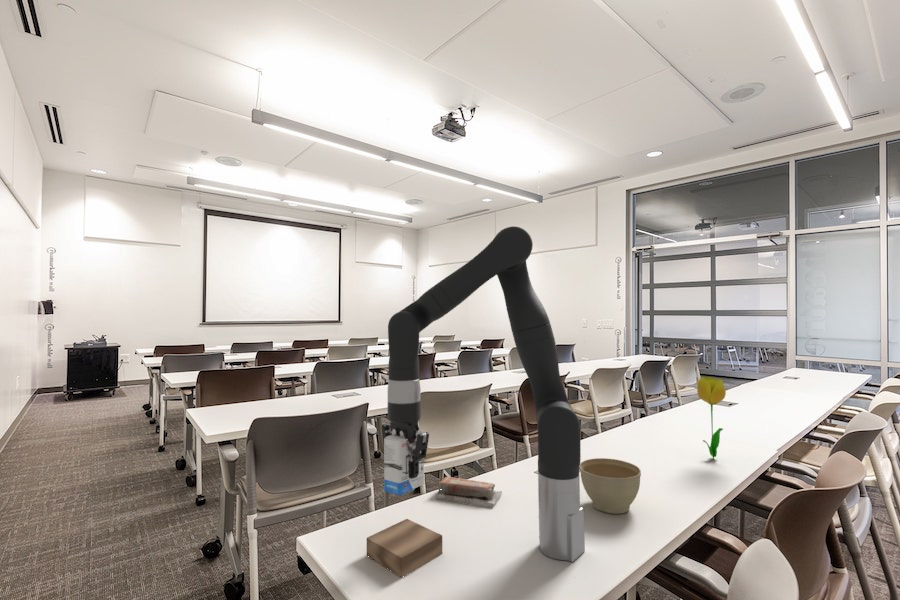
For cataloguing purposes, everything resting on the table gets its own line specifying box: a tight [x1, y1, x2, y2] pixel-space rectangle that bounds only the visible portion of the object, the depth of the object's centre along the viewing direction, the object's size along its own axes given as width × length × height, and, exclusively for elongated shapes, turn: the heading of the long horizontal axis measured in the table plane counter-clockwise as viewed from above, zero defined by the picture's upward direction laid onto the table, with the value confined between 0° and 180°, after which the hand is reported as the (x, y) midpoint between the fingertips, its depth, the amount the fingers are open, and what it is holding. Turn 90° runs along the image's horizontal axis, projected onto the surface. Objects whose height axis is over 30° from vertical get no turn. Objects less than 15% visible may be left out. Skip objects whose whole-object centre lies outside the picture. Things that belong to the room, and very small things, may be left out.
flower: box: [696, 376, 727, 460], centre depth 156 cm, size 9×8×30 cm
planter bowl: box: [579, 457, 642, 514], centre depth 118 cm, size 16×16×11 cm
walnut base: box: [366, 518, 443, 578], centre depth 95 cm, size 12×12×4 cm
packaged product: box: [434, 476, 503, 509], centre depth 125 cm, size 18×5×10 cm
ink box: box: [383, 435, 425, 496], centre depth 95 cm, size 9×5×12 cm, turn 143°
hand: (404, 474), depth 95 cm, fingers closed on ink box, 5 cm apart
